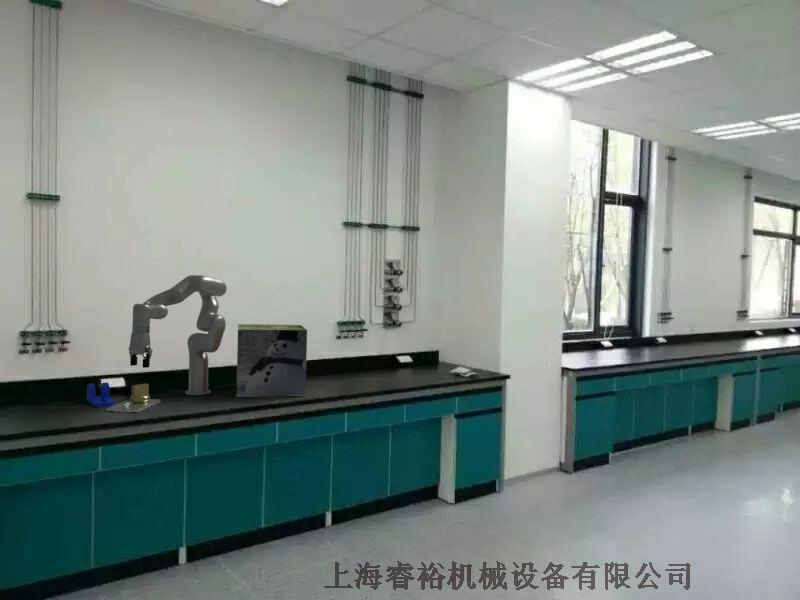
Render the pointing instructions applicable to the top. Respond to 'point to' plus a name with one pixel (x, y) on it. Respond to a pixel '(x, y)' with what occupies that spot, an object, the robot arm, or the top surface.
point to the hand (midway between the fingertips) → (139, 366)
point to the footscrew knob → (140, 393)
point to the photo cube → (271, 360)
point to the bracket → (100, 400)
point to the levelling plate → (132, 406)
